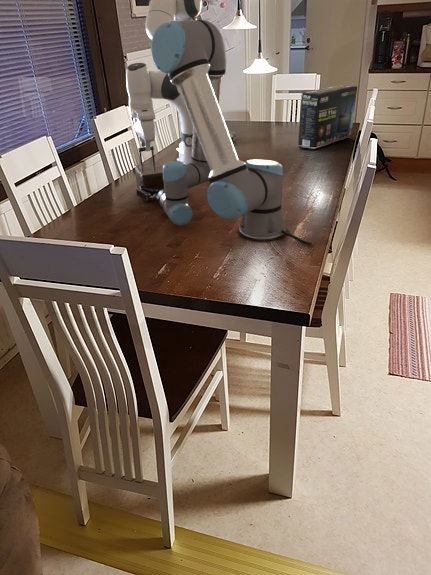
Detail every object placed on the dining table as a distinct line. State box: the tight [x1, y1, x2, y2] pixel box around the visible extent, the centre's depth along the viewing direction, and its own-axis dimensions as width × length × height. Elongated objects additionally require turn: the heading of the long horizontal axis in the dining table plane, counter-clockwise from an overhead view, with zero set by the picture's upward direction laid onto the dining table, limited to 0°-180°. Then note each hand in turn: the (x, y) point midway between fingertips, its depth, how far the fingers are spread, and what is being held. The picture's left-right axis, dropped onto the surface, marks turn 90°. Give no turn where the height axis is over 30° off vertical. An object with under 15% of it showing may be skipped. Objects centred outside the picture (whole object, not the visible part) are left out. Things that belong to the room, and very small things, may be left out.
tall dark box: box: [133, 145, 163, 178], centre depth 178 cm, size 15×10×8 cm
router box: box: [297, 84, 358, 151], centre depth 238 cm, size 36×11×27 cm, turn 134°
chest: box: [134, 168, 164, 203], centre depth 182 cm, size 14×10×10 cm
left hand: (145, 148), depth 180 cm, fingers open, 6 cm apart
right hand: (154, 182), depth 178 cm, fingers closed on chest, 10 cm apart
